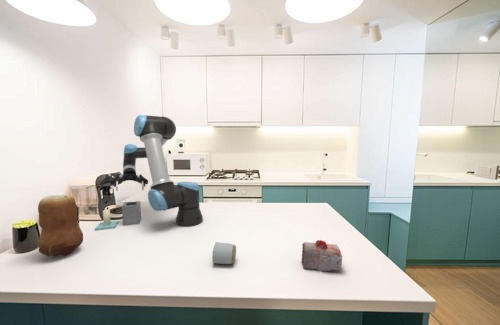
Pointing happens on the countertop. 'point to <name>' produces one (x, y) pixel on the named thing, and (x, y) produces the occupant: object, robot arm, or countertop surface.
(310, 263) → the food item
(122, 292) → the countertop surface
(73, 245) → the butternut squash
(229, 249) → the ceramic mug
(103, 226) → the shaft post
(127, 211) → the gray box
